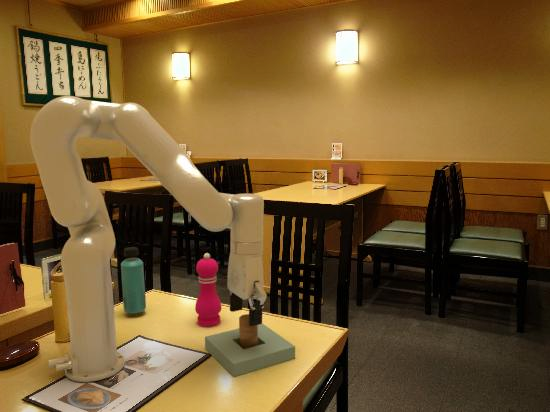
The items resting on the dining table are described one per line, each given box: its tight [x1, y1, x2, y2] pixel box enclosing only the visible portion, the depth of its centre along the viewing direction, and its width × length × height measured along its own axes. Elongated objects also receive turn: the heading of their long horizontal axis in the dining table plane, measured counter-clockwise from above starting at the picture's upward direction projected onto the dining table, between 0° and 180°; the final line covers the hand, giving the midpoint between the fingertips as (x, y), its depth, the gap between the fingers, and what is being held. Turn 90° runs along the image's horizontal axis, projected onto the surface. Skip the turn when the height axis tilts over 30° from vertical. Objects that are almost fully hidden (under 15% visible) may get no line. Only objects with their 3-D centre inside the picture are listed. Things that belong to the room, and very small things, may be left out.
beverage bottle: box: [120, 246, 147, 314], centre depth 135 cm, size 6×7×20 cm
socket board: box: [204, 322, 296, 378], centre depth 113 cm, size 16×16×3 cm
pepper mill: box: [194, 252, 222, 328], centre depth 129 cm, size 7×7×20 cm
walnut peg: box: [238, 313, 258, 349], centre depth 112 cm, size 4×4×9 cm
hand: (245, 317), depth 111 cm, fingers open, 9 cm apart
